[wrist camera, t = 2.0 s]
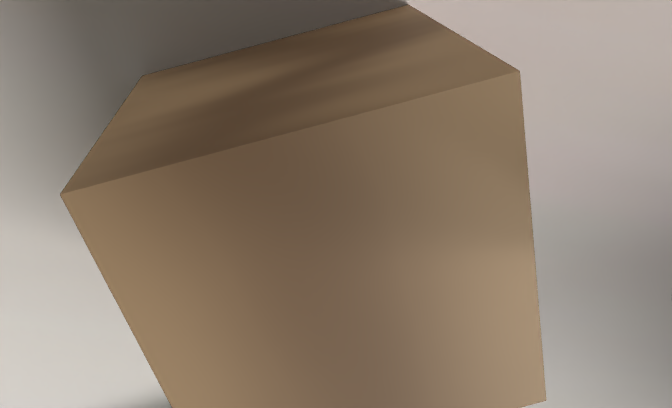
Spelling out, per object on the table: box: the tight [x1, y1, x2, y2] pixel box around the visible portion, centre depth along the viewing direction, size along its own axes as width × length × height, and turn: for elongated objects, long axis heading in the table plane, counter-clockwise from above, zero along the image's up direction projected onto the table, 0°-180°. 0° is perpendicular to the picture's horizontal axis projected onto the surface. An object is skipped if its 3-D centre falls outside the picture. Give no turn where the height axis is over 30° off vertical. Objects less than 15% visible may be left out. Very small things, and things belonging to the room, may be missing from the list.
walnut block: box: [60, 5, 546, 408], centre depth 11 cm, size 6×6×6 cm
